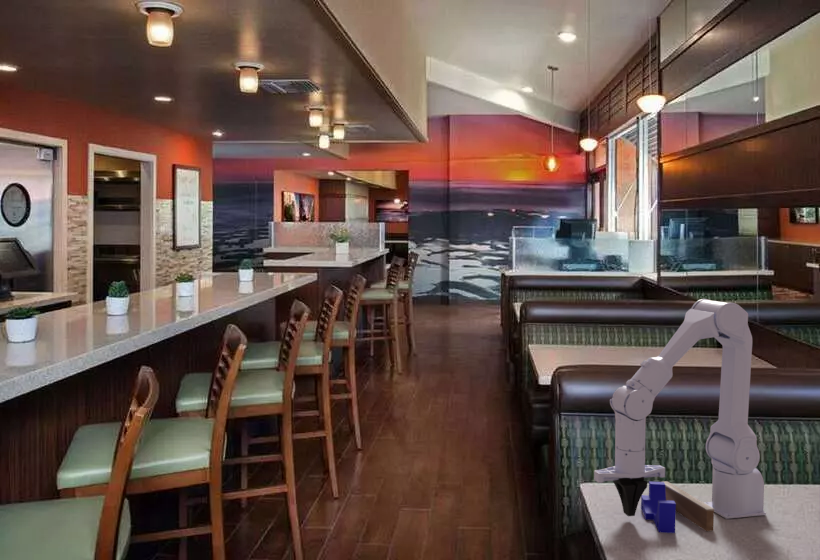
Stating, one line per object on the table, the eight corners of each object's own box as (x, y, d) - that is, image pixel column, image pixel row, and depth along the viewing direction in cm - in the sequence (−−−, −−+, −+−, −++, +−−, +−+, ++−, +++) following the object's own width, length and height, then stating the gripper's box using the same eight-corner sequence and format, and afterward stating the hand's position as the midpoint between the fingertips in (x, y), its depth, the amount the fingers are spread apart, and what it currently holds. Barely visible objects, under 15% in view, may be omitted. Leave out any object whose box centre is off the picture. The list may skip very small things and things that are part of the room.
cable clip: (641, 509, 150) (641, 481, 150) (663, 510, 150) (664, 482, 149) (650, 532, 138) (651, 502, 138) (675, 534, 138) (675, 503, 137)
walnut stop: (666, 500, 154) (667, 481, 154) (713, 530, 139) (714, 508, 138) (660, 501, 154) (660, 481, 154) (706, 531, 138) (706, 509, 138)
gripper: (652, 439, 148) (650, 503, 149) (587, 444, 145) (586, 509, 146) (671, 449, 141) (670, 516, 142) (604, 454, 138) (603, 523, 139)
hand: (629, 514), depth 144 cm, fingers closed
